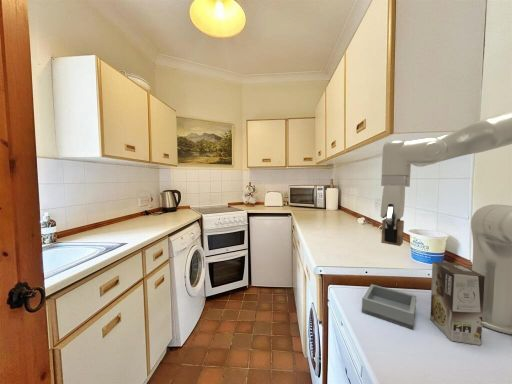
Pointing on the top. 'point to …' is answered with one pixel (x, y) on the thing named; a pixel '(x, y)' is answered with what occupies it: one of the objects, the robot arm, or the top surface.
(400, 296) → the tray
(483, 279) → the coffee box
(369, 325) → the top surface
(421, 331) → the top surface
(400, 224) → the walnut block
